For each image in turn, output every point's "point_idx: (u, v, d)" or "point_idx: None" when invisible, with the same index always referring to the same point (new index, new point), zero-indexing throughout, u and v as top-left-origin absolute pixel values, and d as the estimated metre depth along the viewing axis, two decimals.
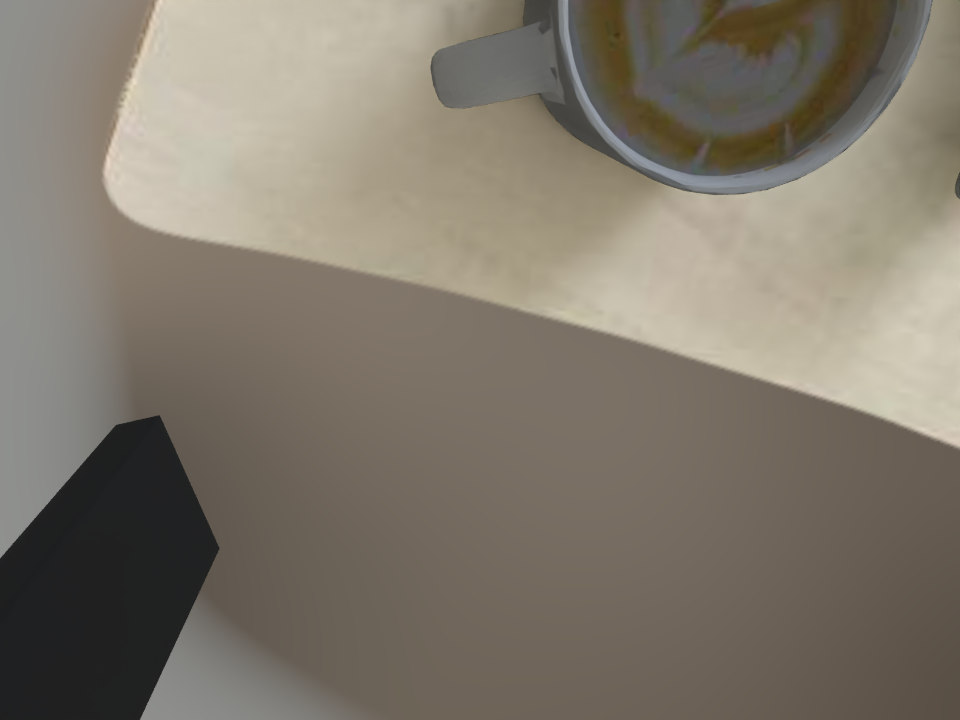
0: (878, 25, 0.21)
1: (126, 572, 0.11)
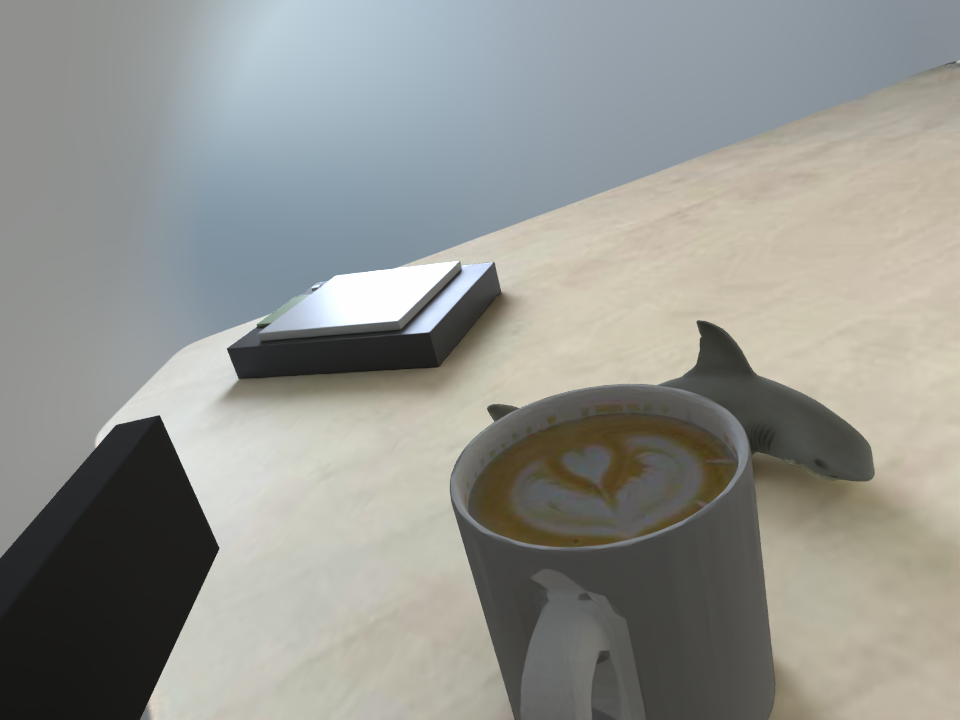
0: (657, 420, 0.29)
1: (126, 572, 0.11)
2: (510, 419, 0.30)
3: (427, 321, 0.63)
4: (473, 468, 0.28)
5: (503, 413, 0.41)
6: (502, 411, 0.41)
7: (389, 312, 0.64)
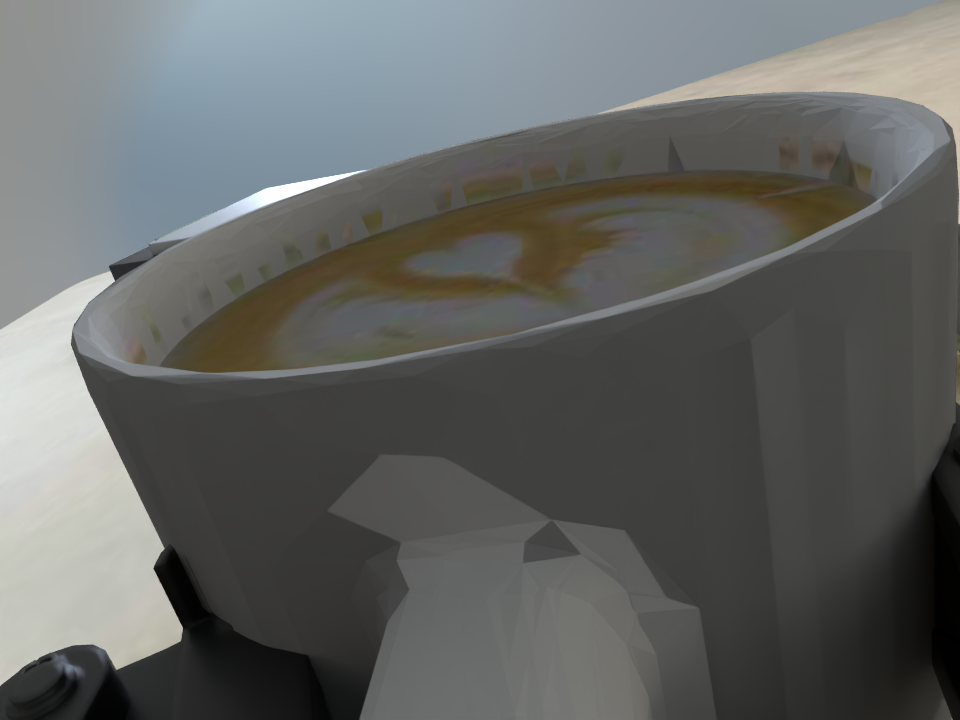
0: (602, 183, 0.13)
1: None
2: (275, 211, 0.13)
3: None
4: (177, 303, 0.11)
5: None
6: None
7: None
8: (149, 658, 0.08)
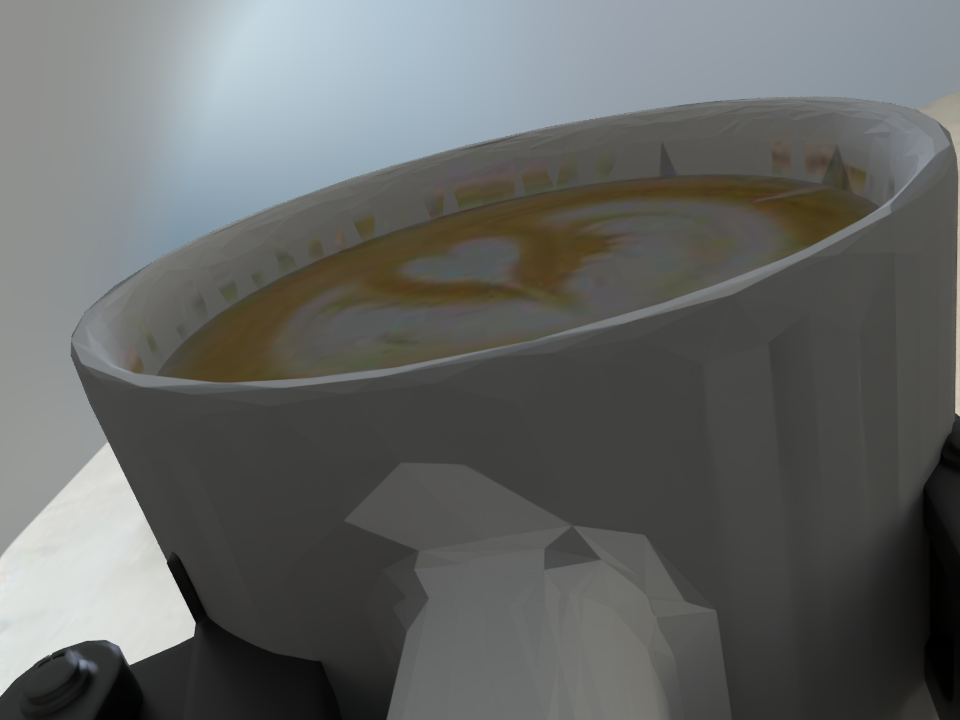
0: (594, 188, 0.13)
1: None
2: (267, 219, 0.13)
3: None
4: (172, 311, 0.11)
5: None
6: None
7: None
8: (161, 654, 0.08)
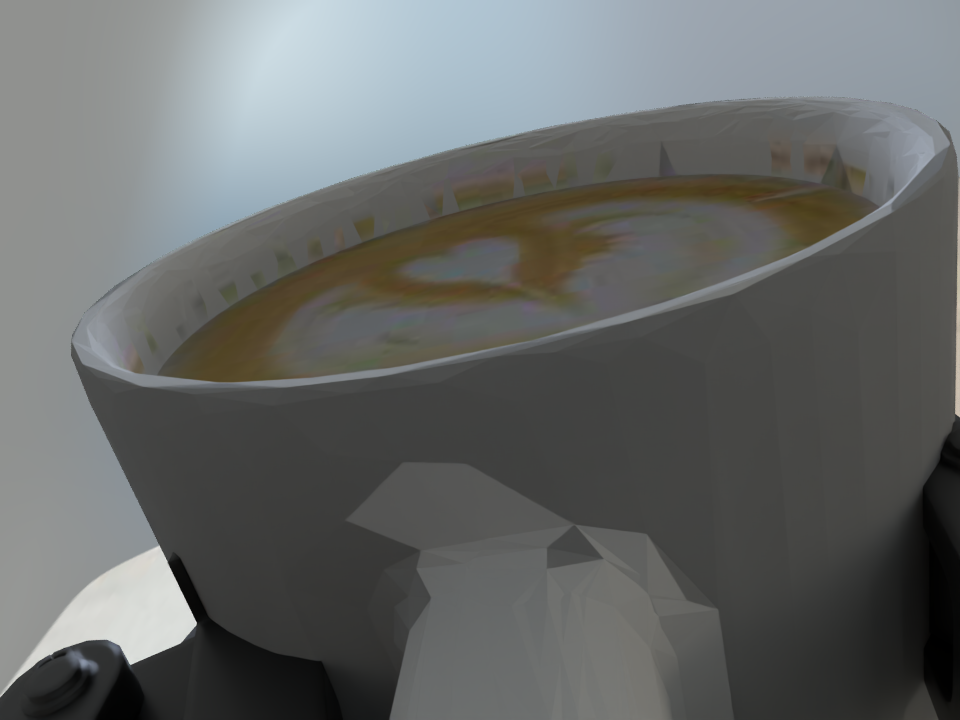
0: (594, 188, 0.13)
1: None
2: (267, 219, 0.13)
3: None
4: (172, 312, 0.11)
5: None
6: None
7: None
8: (162, 653, 0.08)
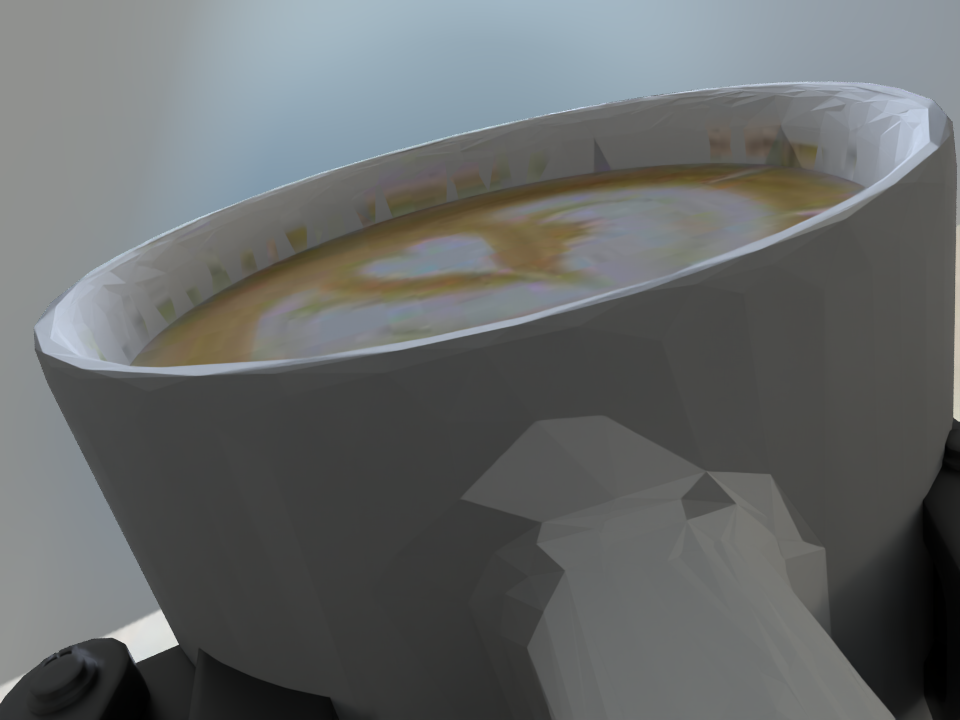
0: (531, 187, 0.13)
1: None
2: (196, 230, 0.12)
3: None
4: (115, 330, 0.09)
5: None
6: None
7: None
8: (167, 651, 0.08)
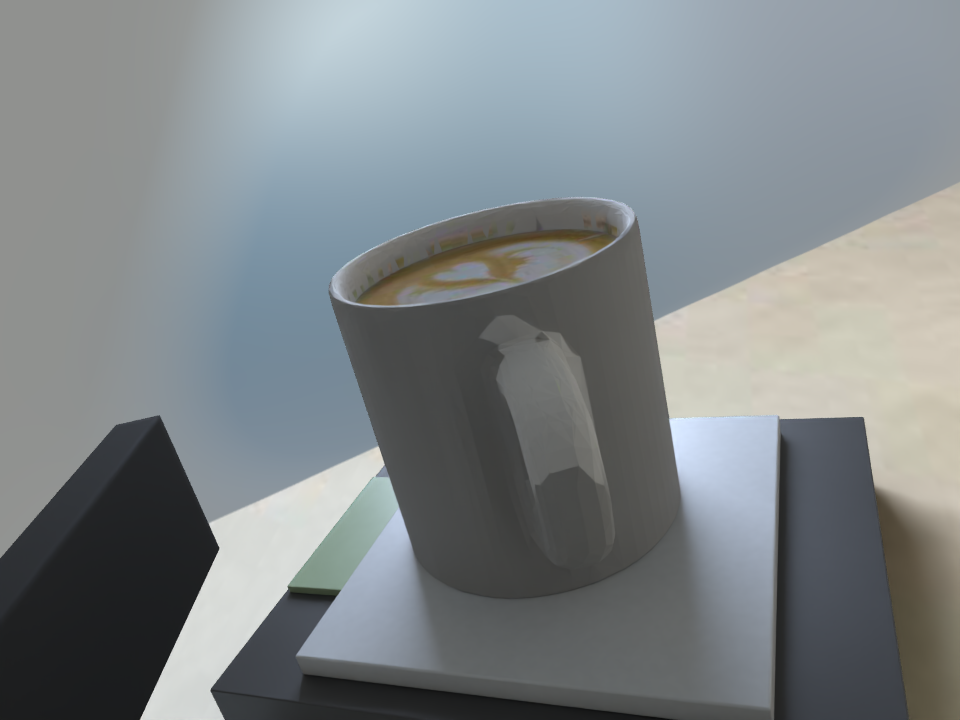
0: (507, 237, 0.29)
1: (126, 572, 0.11)
2: (361, 260, 0.27)
3: (849, 694, 0.19)
4: None
5: None
6: None
7: (703, 640, 0.21)
8: None
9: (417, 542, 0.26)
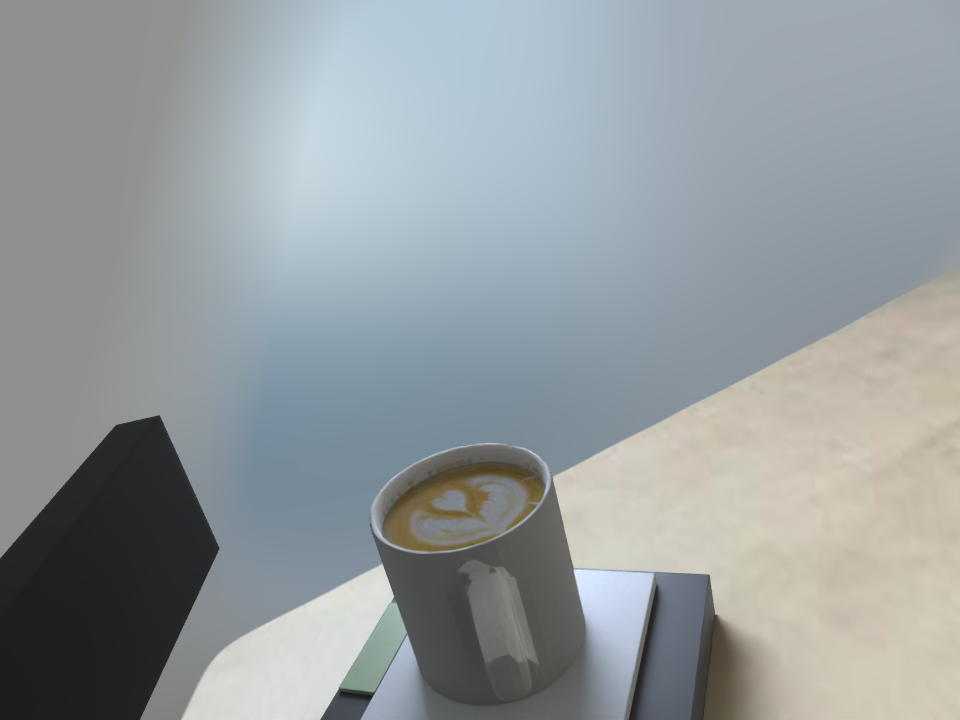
0: (478, 466, 0.45)
1: (126, 572, 0.11)
2: (387, 489, 0.43)
3: None
4: (379, 525, 0.41)
5: None
6: None
7: None
8: None
9: (421, 666, 0.42)
